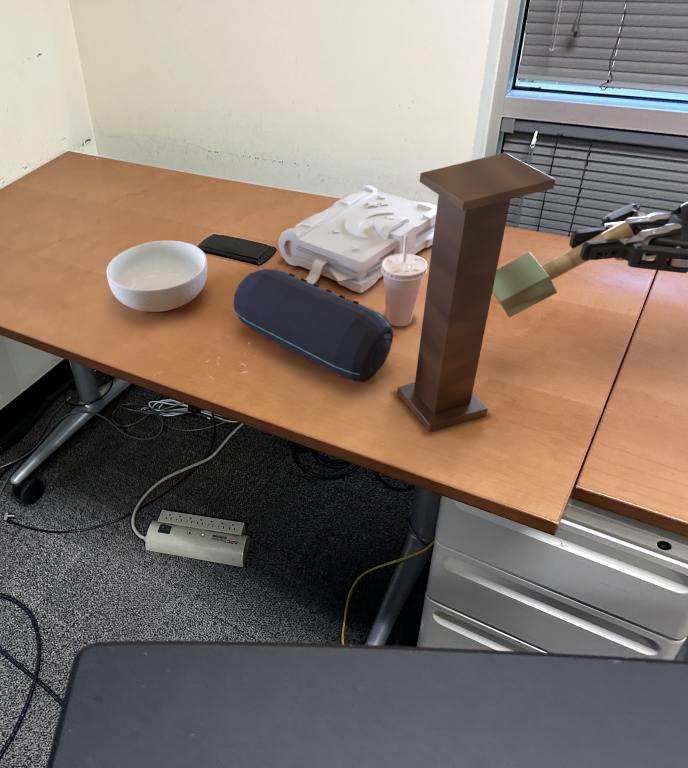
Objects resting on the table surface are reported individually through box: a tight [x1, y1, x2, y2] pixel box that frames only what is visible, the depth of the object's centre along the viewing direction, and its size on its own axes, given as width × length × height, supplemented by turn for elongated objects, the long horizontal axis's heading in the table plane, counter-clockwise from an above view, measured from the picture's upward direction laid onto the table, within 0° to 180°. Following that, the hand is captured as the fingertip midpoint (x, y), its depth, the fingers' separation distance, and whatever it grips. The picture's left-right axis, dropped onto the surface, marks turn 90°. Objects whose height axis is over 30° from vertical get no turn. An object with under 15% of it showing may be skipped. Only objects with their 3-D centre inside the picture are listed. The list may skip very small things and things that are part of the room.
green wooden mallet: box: [492, 221, 634, 318], centre depth 84 cm, size 16×6×3 cm
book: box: [278, 184, 437, 294], centre depth 118 cm, size 19×28×8 cm
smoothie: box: [381, 234, 428, 327], centre depth 100 cm, size 6×6×14 cm
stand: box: [396, 152, 556, 433], centre depth 80 cm, size 10×8×31 cm
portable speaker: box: [232, 268, 394, 383], centre depth 98 cm, size 25×10×10 cm, turn 40°
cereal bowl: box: [106, 239, 208, 313], centre depth 115 cm, size 17×17×7 cm
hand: (577, 245), depth 83 cm, fingers closed on green wooden mallet, 2 cm apart
